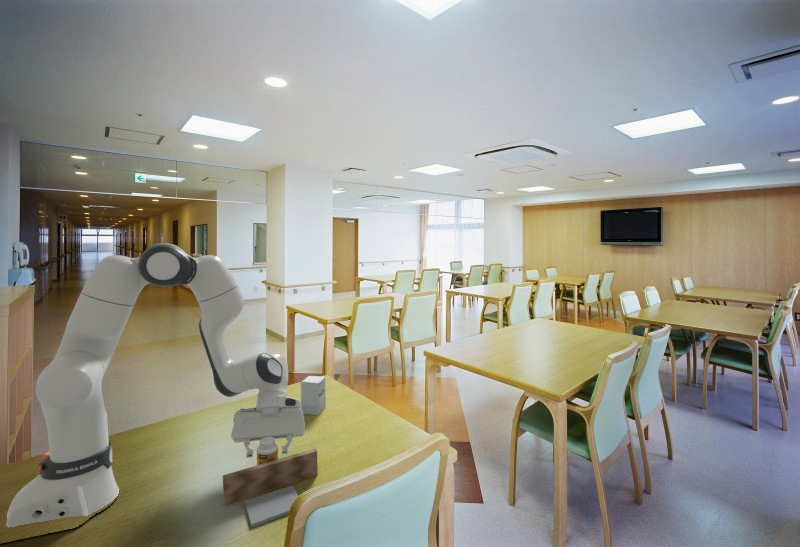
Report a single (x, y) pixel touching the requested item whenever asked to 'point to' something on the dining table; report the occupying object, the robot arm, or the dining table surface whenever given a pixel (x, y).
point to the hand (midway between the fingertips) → (267, 455)
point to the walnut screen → (269, 476)
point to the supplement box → (313, 395)
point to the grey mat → (270, 505)
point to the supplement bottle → (267, 450)
